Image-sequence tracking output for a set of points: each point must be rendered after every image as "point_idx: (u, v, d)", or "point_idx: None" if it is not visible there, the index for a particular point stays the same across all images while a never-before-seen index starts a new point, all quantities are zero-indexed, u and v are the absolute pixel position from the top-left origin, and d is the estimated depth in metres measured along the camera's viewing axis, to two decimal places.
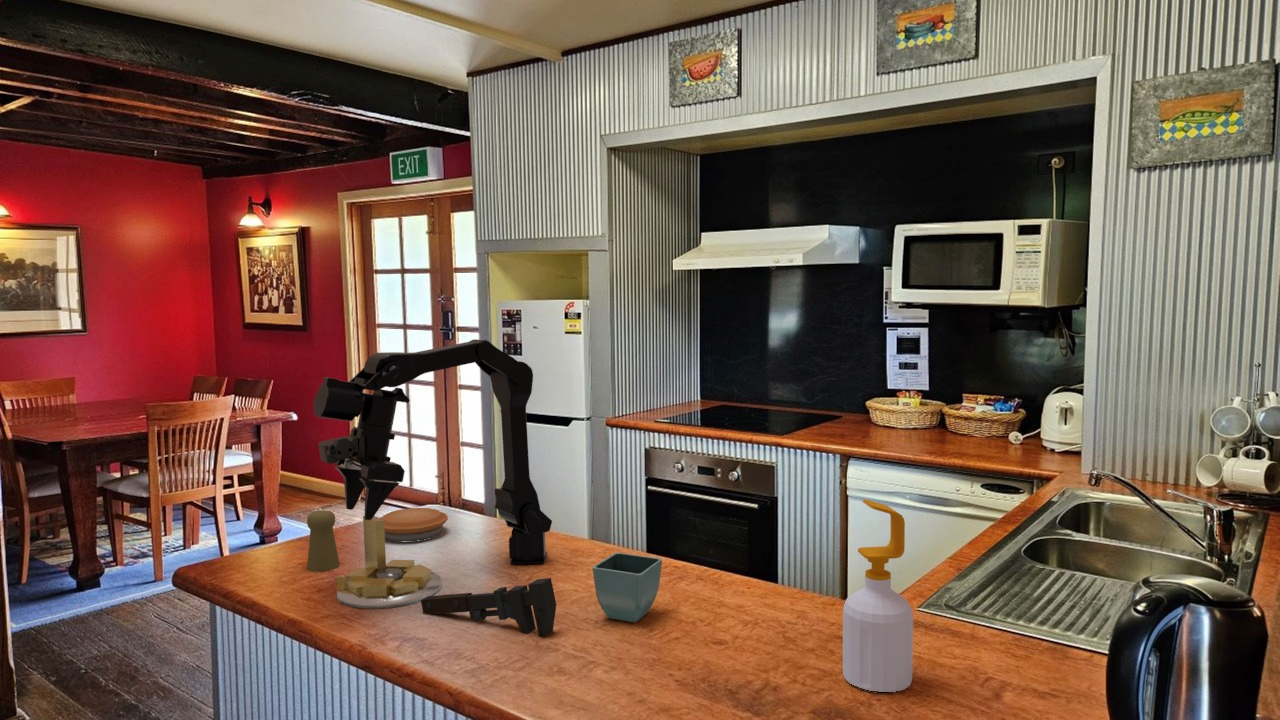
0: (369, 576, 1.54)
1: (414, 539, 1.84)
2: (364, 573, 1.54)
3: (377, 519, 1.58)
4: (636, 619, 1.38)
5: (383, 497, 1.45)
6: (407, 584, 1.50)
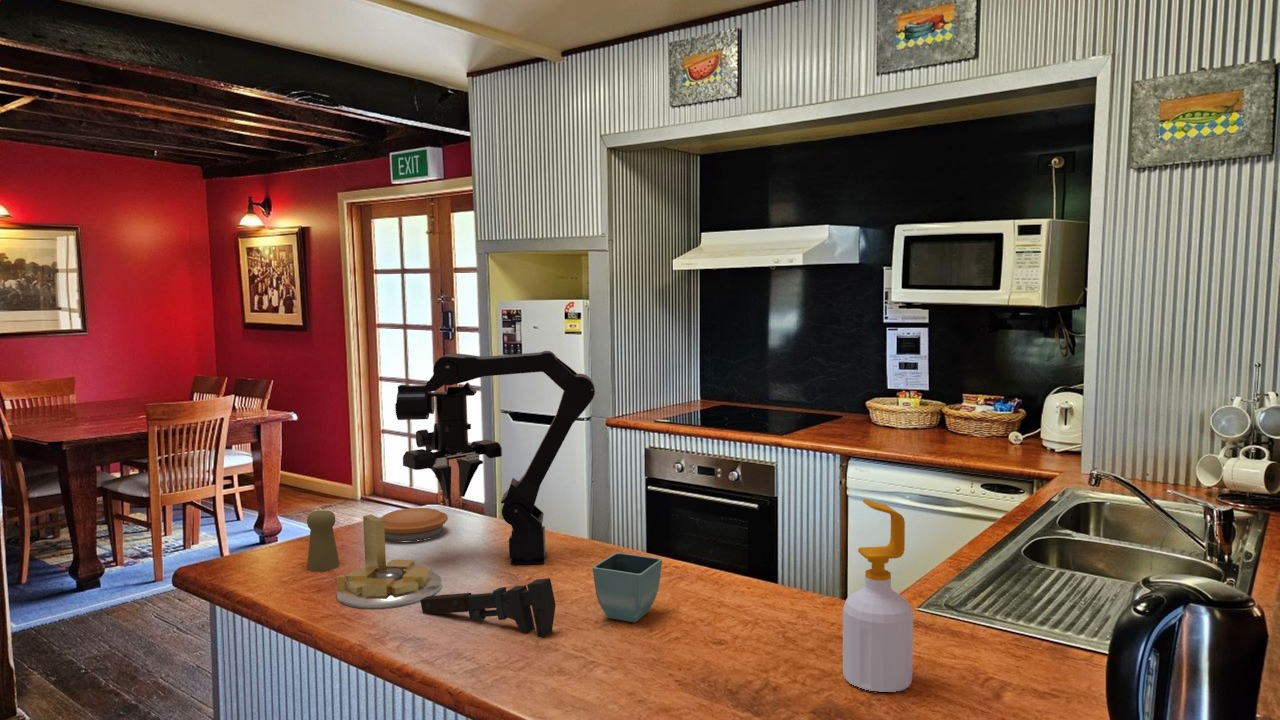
0: (369, 576, 1.54)
1: (414, 539, 1.84)
2: (364, 573, 1.54)
3: (377, 519, 1.58)
4: (636, 619, 1.38)
5: (443, 480, 1.66)
6: (407, 584, 1.50)
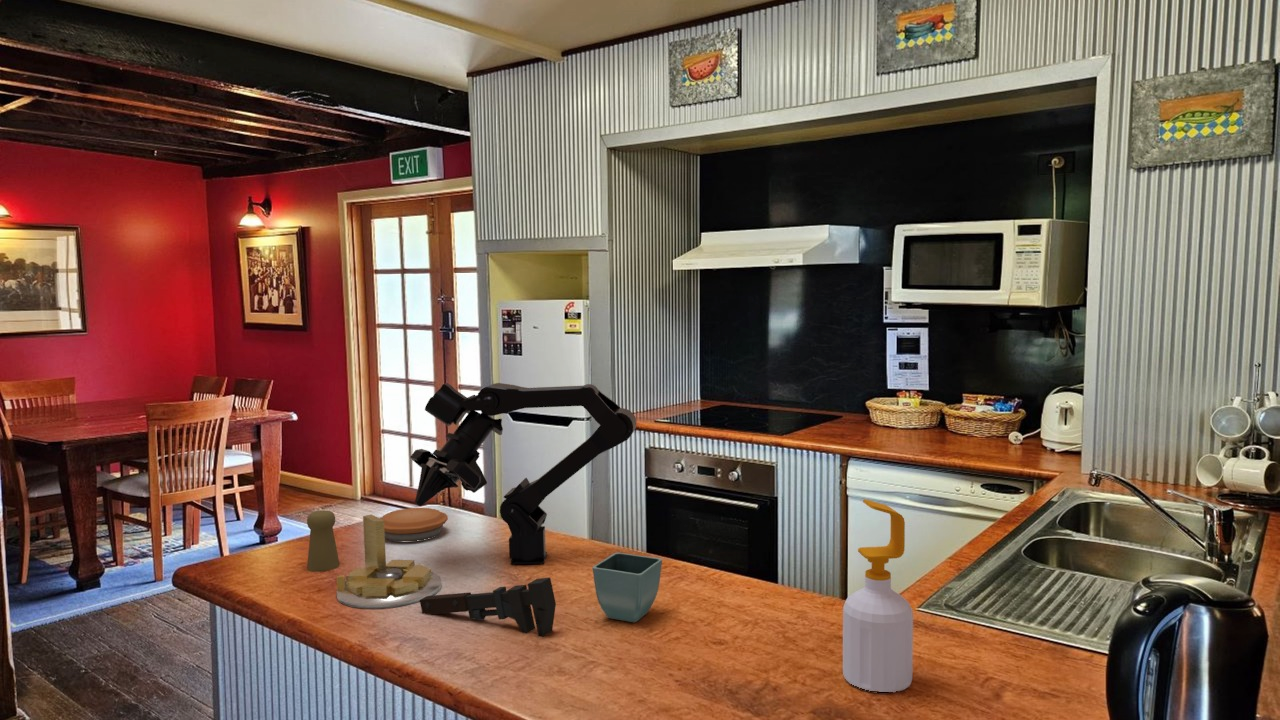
0: (369, 576, 1.54)
1: (414, 539, 1.84)
2: (364, 573, 1.54)
3: (377, 519, 1.58)
4: (636, 619, 1.38)
5: None
6: (407, 584, 1.50)
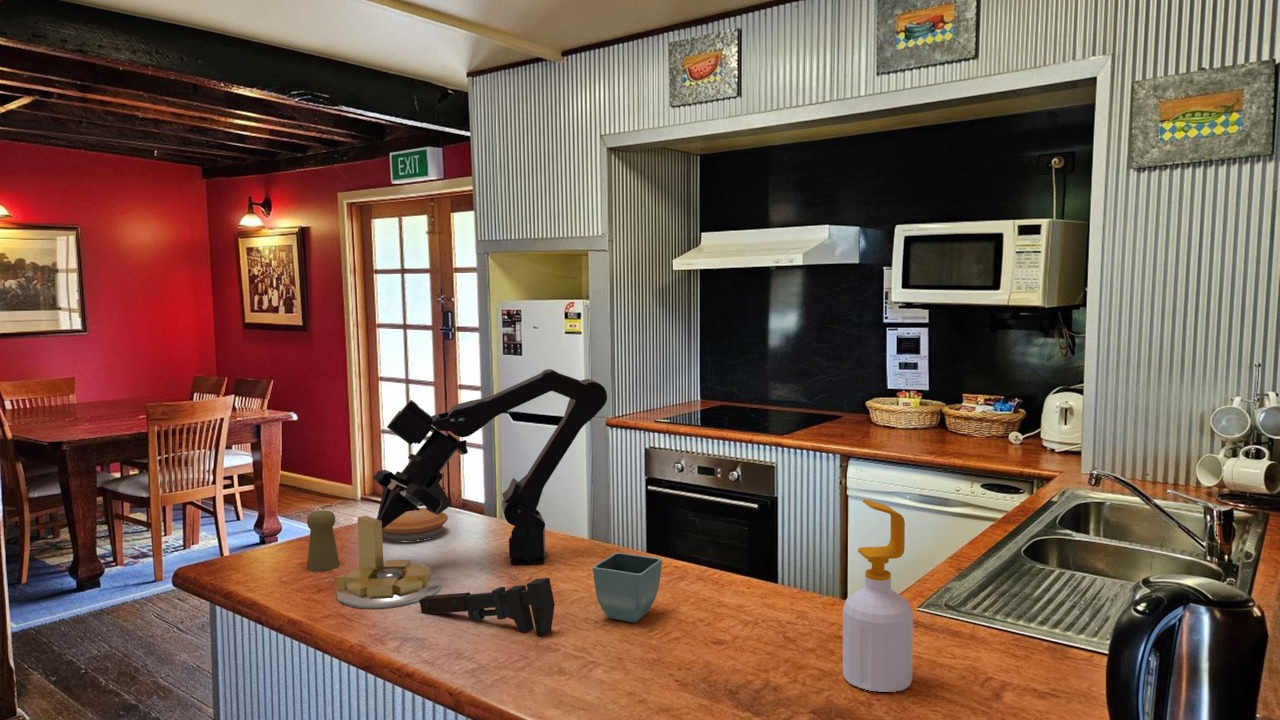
0: (369, 576, 1.54)
1: (414, 539, 1.84)
2: (364, 574, 1.54)
3: (374, 520, 1.57)
4: (636, 619, 1.38)
5: None
6: (411, 583, 1.51)
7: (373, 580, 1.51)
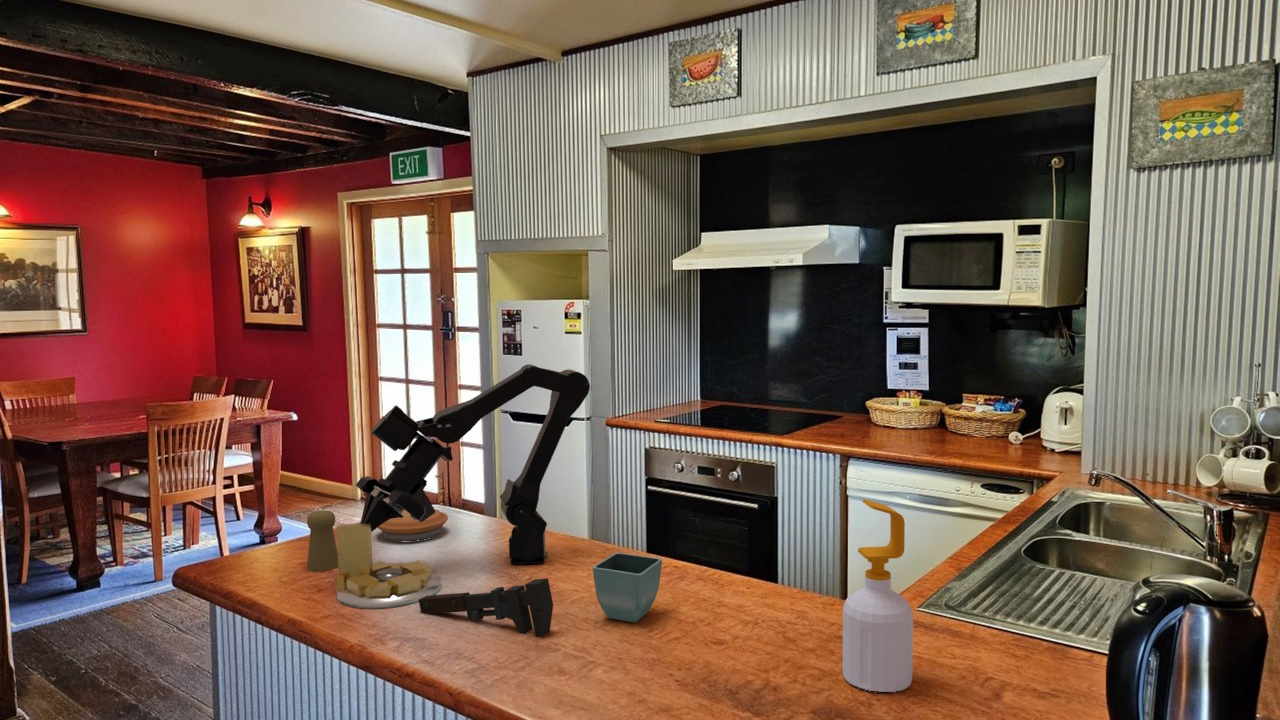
0: None
1: (414, 539, 1.84)
2: (369, 579, 1.51)
3: (361, 524, 1.54)
4: (636, 619, 1.38)
5: None
6: (426, 574, 1.55)
7: (391, 580, 1.51)
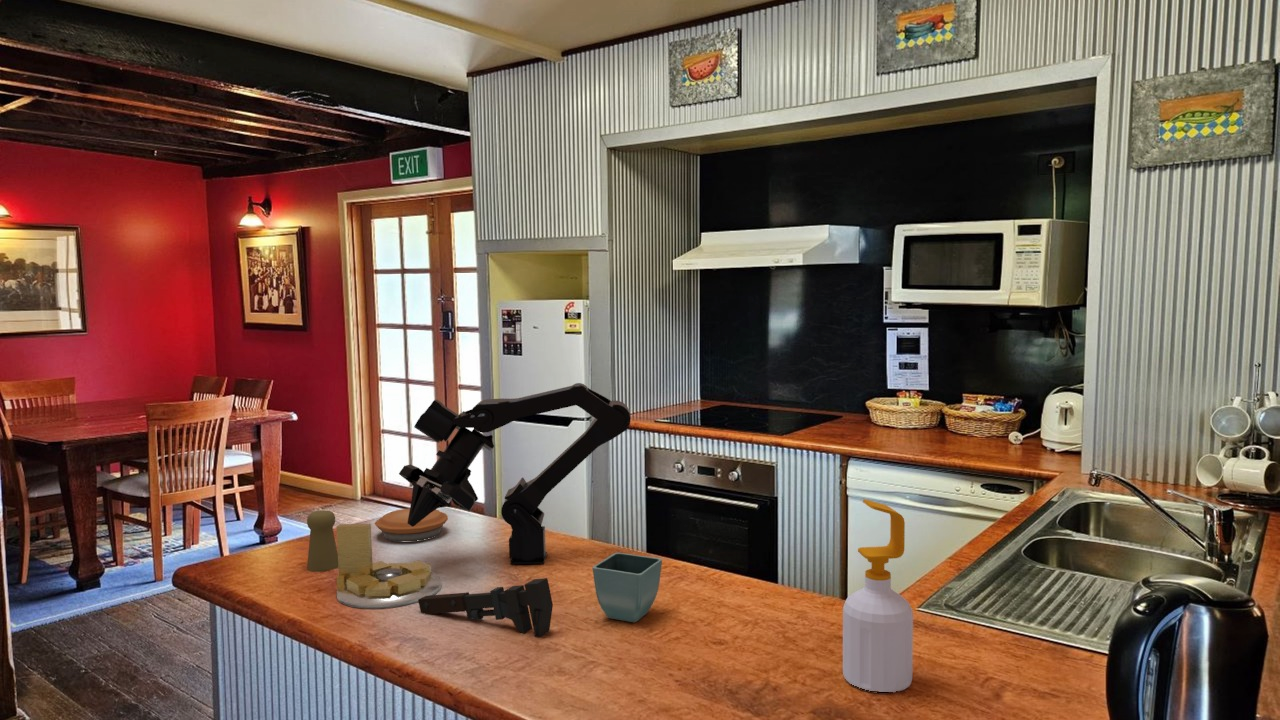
0: None
1: (414, 539, 1.84)
2: (369, 579, 1.51)
3: (361, 524, 1.54)
4: (636, 619, 1.38)
5: None
6: (426, 574, 1.55)
7: (391, 580, 1.51)
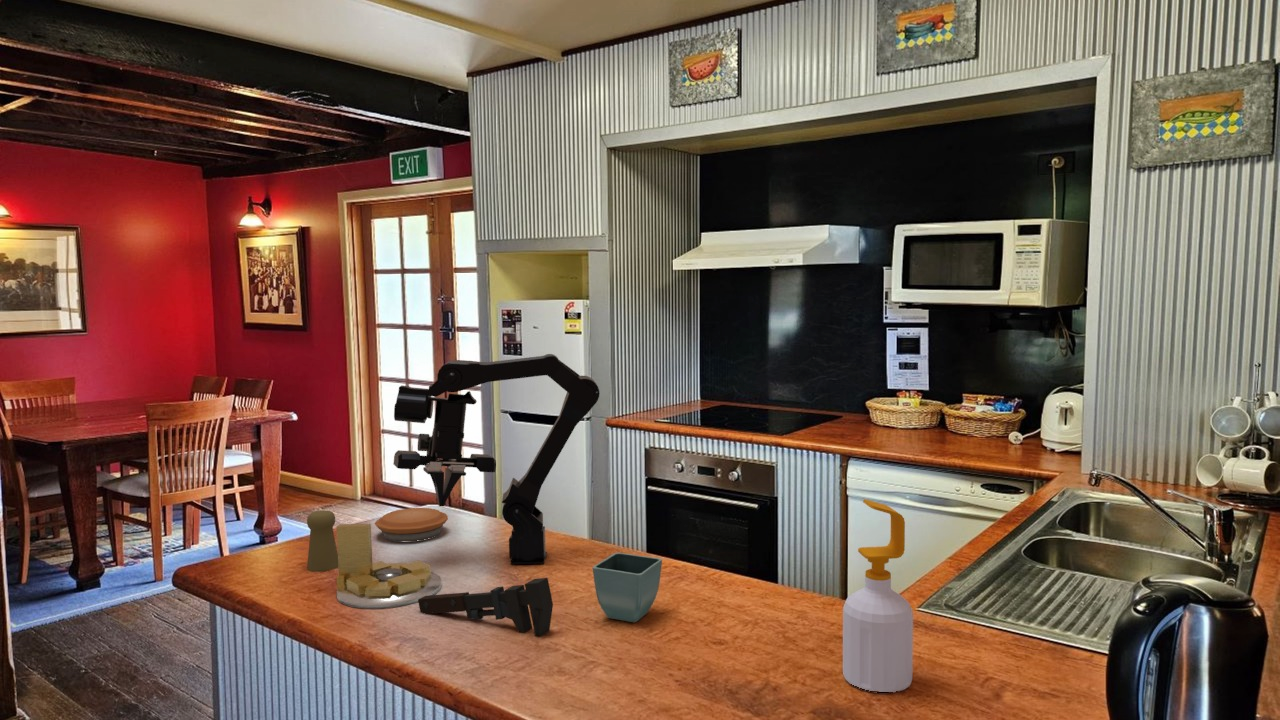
0: None
1: (414, 539, 1.84)
2: (369, 579, 1.51)
3: (361, 524, 1.54)
4: (636, 619, 1.38)
5: (436, 485, 1.65)
6: (426, 574, 1.55)
7: (391, 580, 1.51)
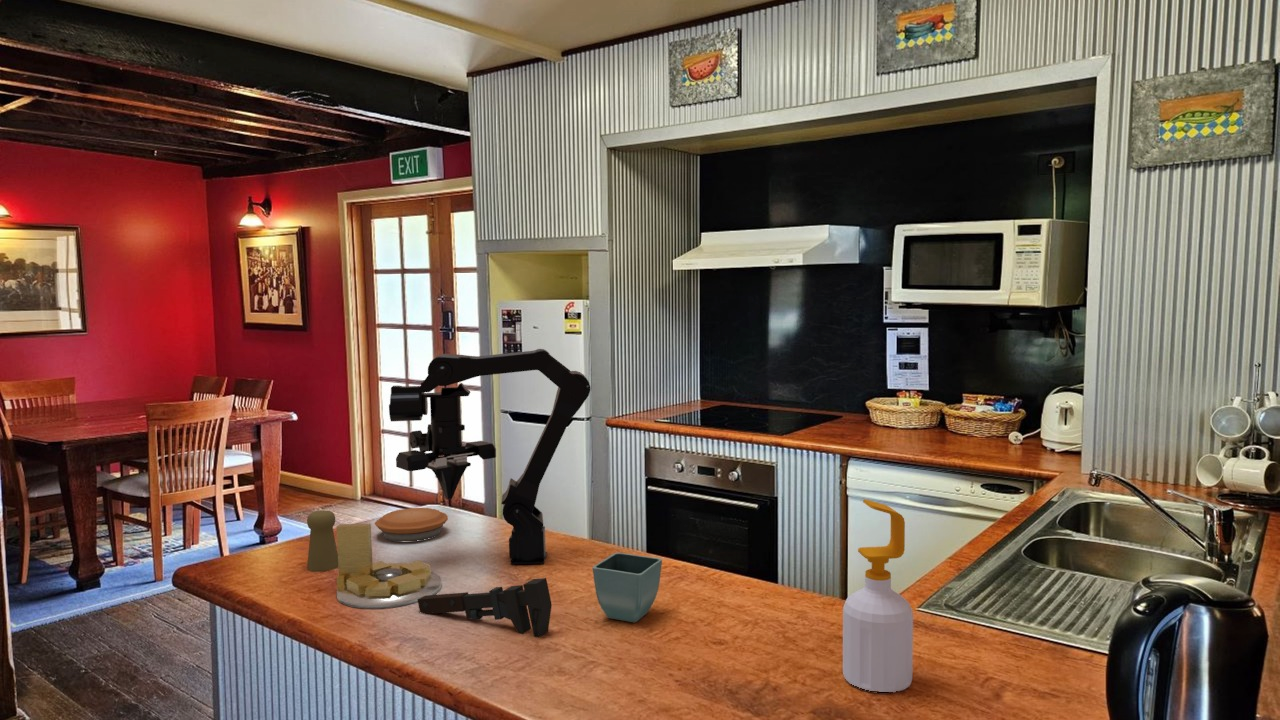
0: None
1: (414, 539, 1.84)
2: (369, 579, 1.51)
3: (361, 524, 1.54)
4: (636, 619, 1.38)
5: (444, 480, 1.66)
6: (426, 574, 1.55)
7: (391, 580, 1.51)
